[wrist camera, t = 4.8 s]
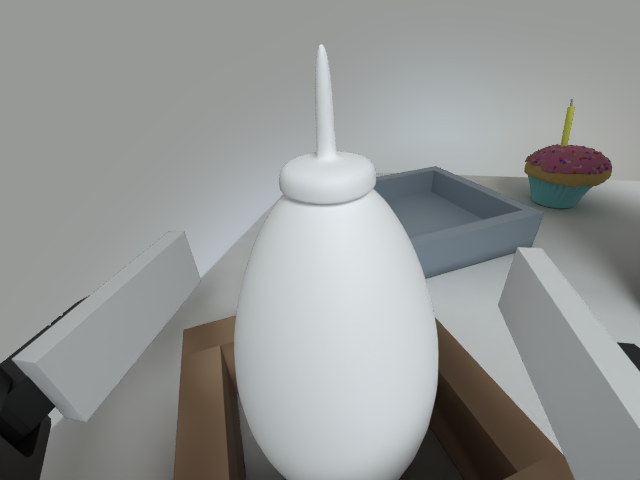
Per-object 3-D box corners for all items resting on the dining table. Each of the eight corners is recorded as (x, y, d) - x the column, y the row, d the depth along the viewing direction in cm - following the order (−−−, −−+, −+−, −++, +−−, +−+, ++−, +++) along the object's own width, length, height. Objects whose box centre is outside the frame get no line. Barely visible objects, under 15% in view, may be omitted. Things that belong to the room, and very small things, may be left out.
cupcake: (500, 195, 42) (526, 100, 35) (546, 184, 44) (578, 94, 38) (562, 221, 35) (607, 109, 28) (612, 207, 37) (665, 100, 31)
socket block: (389, 318, 24) (393, 272, 21) (568, 557, 12) (619, 515, 10) (203, 376, 20) (183, 329, 18) (206, 793, 9) (150, 815, 6)
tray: (431, 193, 44) (435, 166, 41) (531, 247, 30) (544, 212, 28) (328, 214, 40) (327, 186, 37) (391, 288, 26) (395, 250, 24)
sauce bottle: (436, 421, 17) (539, 30, 7) (375, 602, 11) (476, -1, 2) (321, 358, 21) (293, 51, 11) (235, 470, 15) (50, 60, 6)
